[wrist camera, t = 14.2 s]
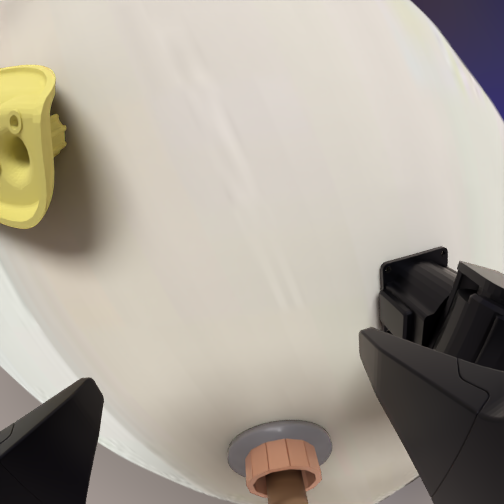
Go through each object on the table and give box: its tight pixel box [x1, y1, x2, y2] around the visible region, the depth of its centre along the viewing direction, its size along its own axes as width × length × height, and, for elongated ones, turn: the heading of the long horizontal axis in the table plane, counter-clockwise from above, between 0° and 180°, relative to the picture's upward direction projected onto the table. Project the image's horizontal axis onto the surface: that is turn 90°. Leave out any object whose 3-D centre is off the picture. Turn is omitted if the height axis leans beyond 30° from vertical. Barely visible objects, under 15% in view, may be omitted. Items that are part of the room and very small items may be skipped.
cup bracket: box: [228, 420, 332, 498], centre depth 24 cm, size 11×11×4 cm
